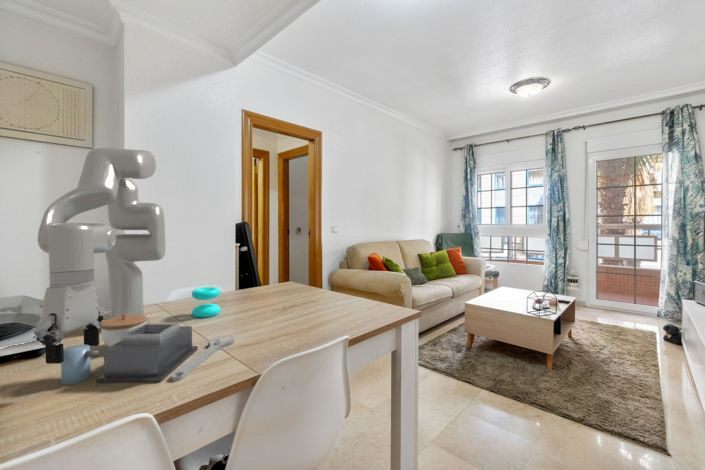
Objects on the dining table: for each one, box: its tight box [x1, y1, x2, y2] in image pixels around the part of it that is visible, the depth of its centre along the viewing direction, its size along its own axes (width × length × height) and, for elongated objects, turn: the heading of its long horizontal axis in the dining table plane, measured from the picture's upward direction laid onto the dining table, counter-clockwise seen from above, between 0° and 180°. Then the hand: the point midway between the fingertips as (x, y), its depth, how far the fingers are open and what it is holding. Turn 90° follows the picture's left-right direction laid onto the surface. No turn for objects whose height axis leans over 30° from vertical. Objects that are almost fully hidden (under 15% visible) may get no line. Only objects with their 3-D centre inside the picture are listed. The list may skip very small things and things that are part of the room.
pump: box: [60, 344, 100, 386], centre depth 72 cm, size 7×5×7 cm
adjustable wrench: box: [171, 335, 235, 382], centre depth 84 cm, size 25×6×2 cm, turn 171°
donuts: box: [191, 286, 221, 319], centre depth 122 cm, size 10×10×10 cm
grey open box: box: [96, 322, 198, 384], centre depth 79 cm, size 14×18×9 cm
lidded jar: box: [100, 314, 148, 348], centre depth 91 cm, size 11×11×9 cm
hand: (74, 353), depth 71 cm, fingers open, 9 cm apart
